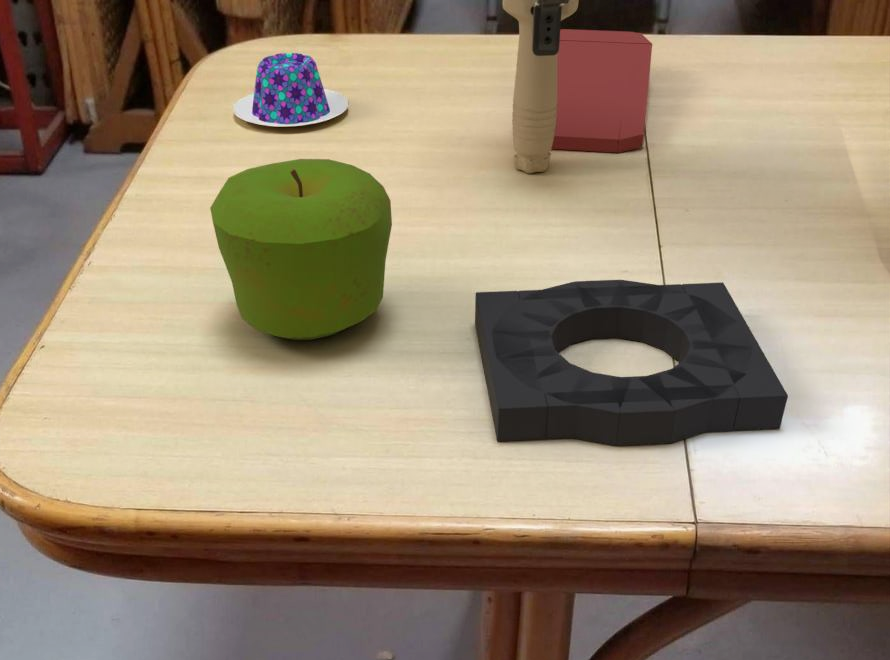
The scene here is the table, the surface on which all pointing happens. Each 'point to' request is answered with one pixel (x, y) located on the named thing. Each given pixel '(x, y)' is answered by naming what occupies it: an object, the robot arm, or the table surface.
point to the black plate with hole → (623, 398)
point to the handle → (533, 92)
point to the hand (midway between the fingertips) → (537, 39)
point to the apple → (304, 245)
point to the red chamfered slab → (601, 90)
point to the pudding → (289, 94)
